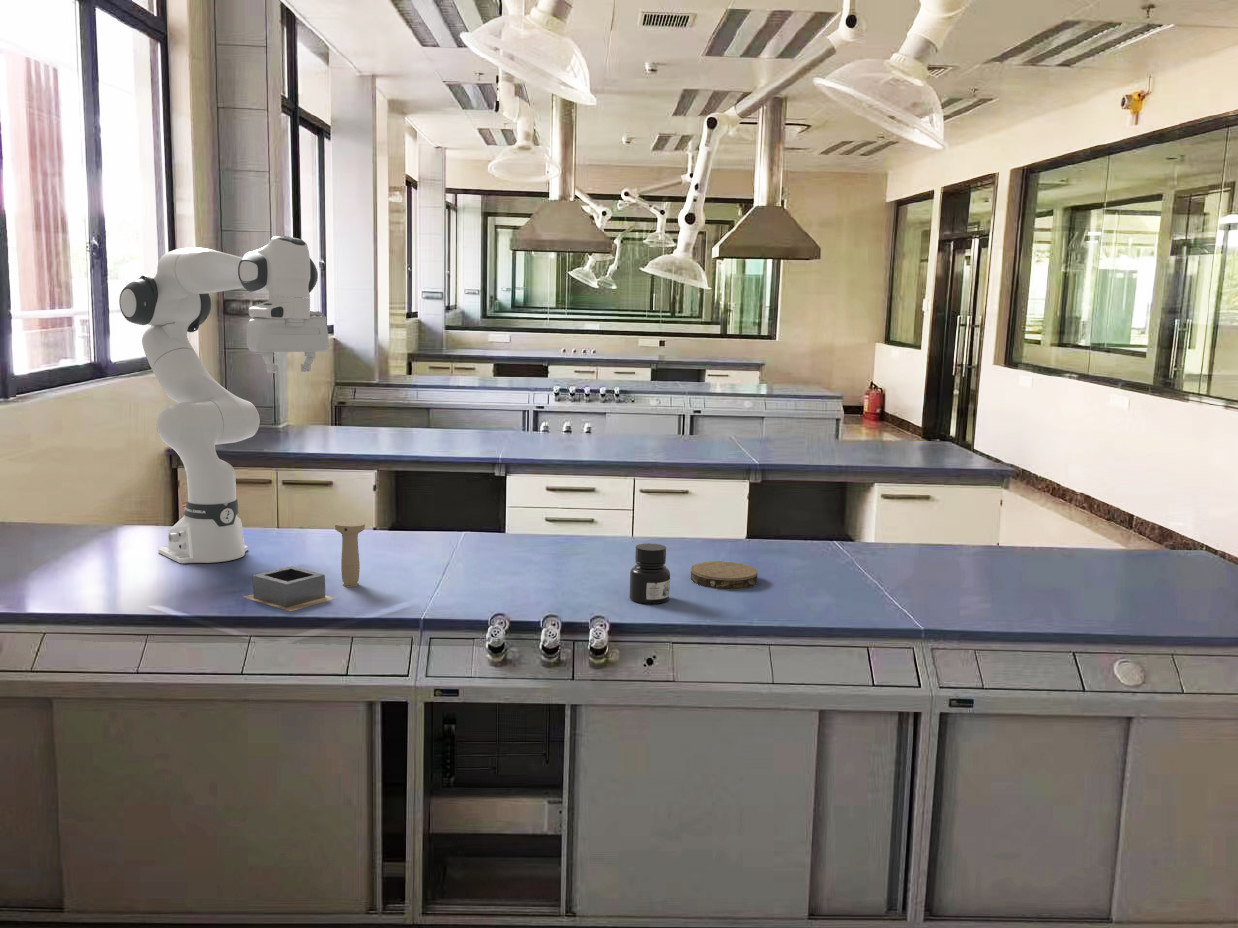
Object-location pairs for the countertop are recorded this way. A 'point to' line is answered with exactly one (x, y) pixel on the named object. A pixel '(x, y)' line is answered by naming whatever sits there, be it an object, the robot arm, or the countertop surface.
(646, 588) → the ink bottle
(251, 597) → the base board
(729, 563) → the brown round disc
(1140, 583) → the countertop surface
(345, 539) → the handle
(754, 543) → the countertop surface
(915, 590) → the countertop surface
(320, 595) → the square frame
